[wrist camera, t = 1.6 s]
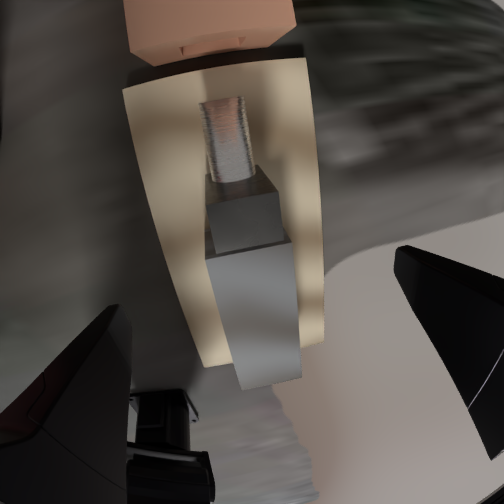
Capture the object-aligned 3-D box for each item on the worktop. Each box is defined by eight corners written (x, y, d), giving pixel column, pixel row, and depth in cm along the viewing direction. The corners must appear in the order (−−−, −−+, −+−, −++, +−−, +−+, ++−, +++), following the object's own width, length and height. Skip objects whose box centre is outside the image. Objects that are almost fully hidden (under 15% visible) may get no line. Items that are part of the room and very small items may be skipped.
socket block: (267, 47, 16) (296, 25, 10) (154, 66, 15) (130, 52, 10) (255, -19, 13) (278, -62, 8) (144, -1, 13) (119, -39, 7)
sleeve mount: (320, 335, 28) (338, 374, 23) (204, 359, 27) (206, 403, 23) (300, 59, 16) (330, 49, 12) (126, 89, 16) (100, 87, 12)
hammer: (280, 332, 25) (297, 384, 20) (242, 340, 25) (251, 394, 20) (247, 94, 16) (265, 92, 11) (191, 104, 16) (185, 106, 11)
